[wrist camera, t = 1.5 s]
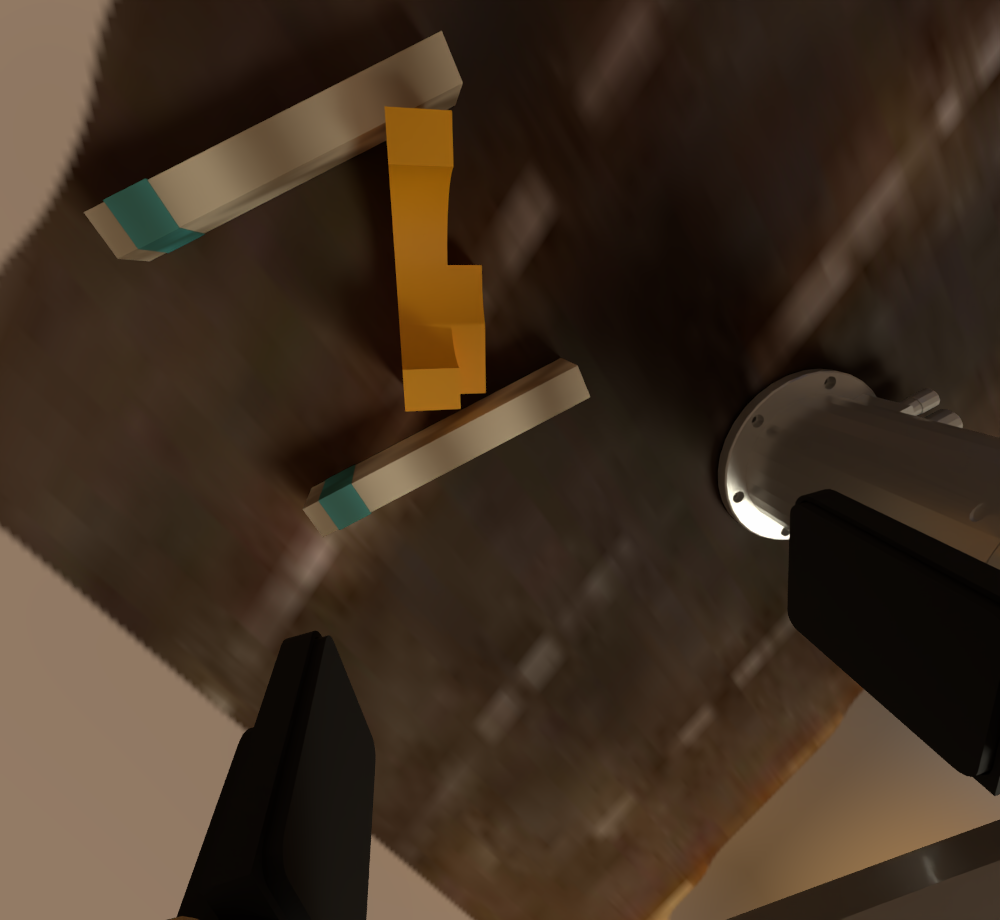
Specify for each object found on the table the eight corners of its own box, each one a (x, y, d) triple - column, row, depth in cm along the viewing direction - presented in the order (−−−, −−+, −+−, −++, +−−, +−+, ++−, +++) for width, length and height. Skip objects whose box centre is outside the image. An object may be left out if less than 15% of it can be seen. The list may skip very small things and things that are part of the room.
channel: (436, 58, 24) (441, 28, 21) (573, 387, 31) (591, 398, 28) (119, 219, 24) (81, 210, 21) (330, 514, 31) (323, 538, 28)
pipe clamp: (476, 381, 30) (496, 407, 24) (403, 384, 29) (405, 411, 23) (472, 151, 26) (495, 113, 20) (387, 148, 25) (384, 106, 19)
